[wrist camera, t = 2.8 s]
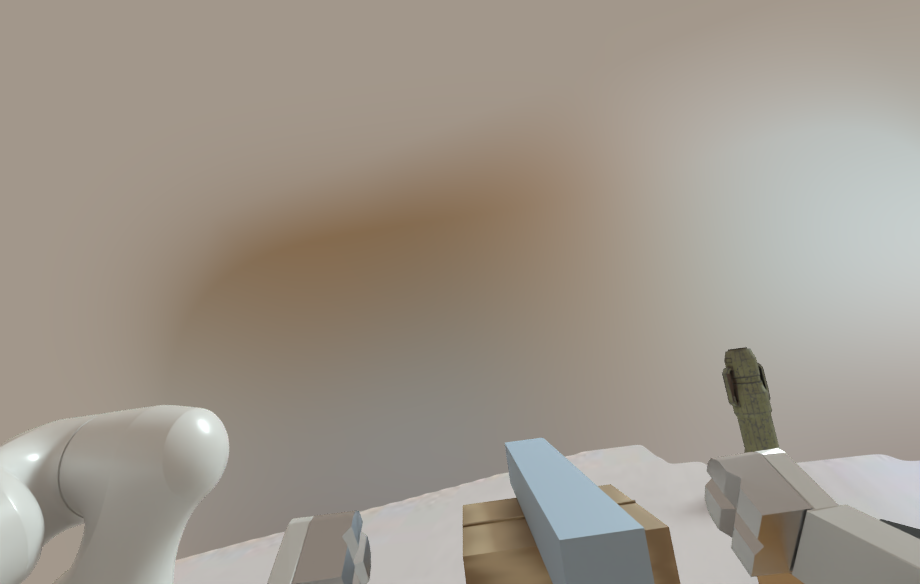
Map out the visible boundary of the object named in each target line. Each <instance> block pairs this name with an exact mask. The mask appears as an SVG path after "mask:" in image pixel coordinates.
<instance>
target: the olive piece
mask: <svg viewBox="0 0 920 584" xmlns="http://www.w3.org/2000/svg"><path fill="white" fill-rule="evenodd" d="M725 365H726V368H725V369H724V370H723V373H722V375H723V379H724V383H725V388H726V392H727V396H728V400H729V403H730V404H731V405H732V406H733V409H734V413H735V414H736V416H737V417H738V422H739V426H740V430H741V434H742V438H743V443H744V447H745V452H744V453H747V452H755V451H761V450H768V449H775V448H778V449H780V448H779V445H778V441H777V437H776V433H775V429H774V425H773V421H772V417H771V412H772V409H771V405H770V401H769V400H770V394H769V390H768V385H767V381H766V378H765V374H764V370H763V367H762V366H761V365H760V364H759V363H757V360H756V357H755V355H754V354H753V353H752V351H751V349H747V348H738V349H730V350H728V351H727V352H726V353H725ZM780 450H781V449H780Z"/></svg>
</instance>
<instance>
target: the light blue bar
mask: <svg viewBox="0 0 920 584" xmlns="http://www.w3.org/2000/svg"><path fill="white" fill-rule="evenodd" d="M505 447H506V455H507V462H508V469H509V476H510V483H511V485H512V488H513V490H514V493H515V495H516V497H517V500H518V502H519V504H520V507H521V509H522V512H523V514H524V516H525V519H526V521H527V523H528V526H529V528H530V531H531V533H532V535H533V538H534V540H535V542H536V545H537V547H538V550H539V552H540V554H541V557H542V559H543V562H544V564H545V566H546V569H547V571H548V573H549V576H550V578H551V581H552V583H553V584H655V583H654V578H653V572H652V567H651V562H650V556H649V551H648V546H647V540H646V535H645V529H644V527H643V526H641V525H640V524H639V523H638V522H637V521H636V520H635V519H634V518H633V517H631V516H630V515H629V514H628V513H627V512H626V511H625V510H624V509H622V508H621V507H620V506H619V505H618V504H617V503H616V502H615V501H613V500H612V499H611V498H610V497H609V496H608V495H607V494H606V493H604V492H603V491H602V490H601V489H600V488H599V487H598V486H597V485H596V484H594V483H593V482H592V481H591V480H590V479H589V478H588V477H587V476H585V475H584V474H583V473H582V472H581V471H580V470H579V469H578V468H576V467H575V466H574V465H573V464H572V463H571V462H570V461H569V460H567V459H566V458H565V457H564V456H563V455H562V454H560V452H558V451H557V450H556V449H555V448H554V447H553V446H552V445H551V444H550V443H548V442H547V441H546V440H545V439H544V438H536V439H530V440H522V441H514V442H507V443H505Z"/></svg>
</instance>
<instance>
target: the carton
mask: <svg viewBox="0 0 920 584" xmlns="http://www.w3.org/2000/svg"><path fill="white" fill-rule="evenodd" d="M598 487H599V488H600V489H601V490H602V491H603V492H604V493H606V494H607V495H608V496H609V497H610V498H611V499H612V500H613V501H615V502H616V503H617V504H618V505H619V506H620V507H621V508H622V509H624V510H625V511H626V512H627V513H628V514H629V515H630V516H631V517H633V518H634V519H635V520H636V521H637V522H638V523H639V524H640V525H641V526H643V527H644V529H645V535H646V540H647V546H648V551H649V556H650V562H651V567H652V572H653V578H654V583H655V584H680V580H679V575H678V570H677V565H676V560H675V555H674V550H673V545H672V541H671V536H670V531H669V527H668V526H667V525H665V524H664V523H663V522H661V521H660V520H659V519H657V518H656V517H655V516H653V515H652V514H650V513H649V512H648V511H646V510H645V509H644V508H642V507H641V506H639V505H638V504H637V503H636V502H635V500H631V499H630V498H629V497H627V496H626V495H624V494H623V493H622V492H620V491H619V490H618V489H616V488H615V487H613V486H612V485H611V484H610V485H603V486H598ZM463 561H464V569H465V577H466V584H553V583H552V581H551V578H550V576H549V573H548V571H547V569H546V566H545V564H544V562H543V559H542V557H541V554H540V552H539V550H538V547H537V545H536V542H535V540H534V538H533V535H532V533H531V531H530V528H529V526H528V523H527V521H526V519H525V516H524V514H523V512H522V509H521V507H520V504H519V502H518V500H517V498H511V499H504V500H497V501H490V502H483V503H476V504H469V505H463Z"/></svg>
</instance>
